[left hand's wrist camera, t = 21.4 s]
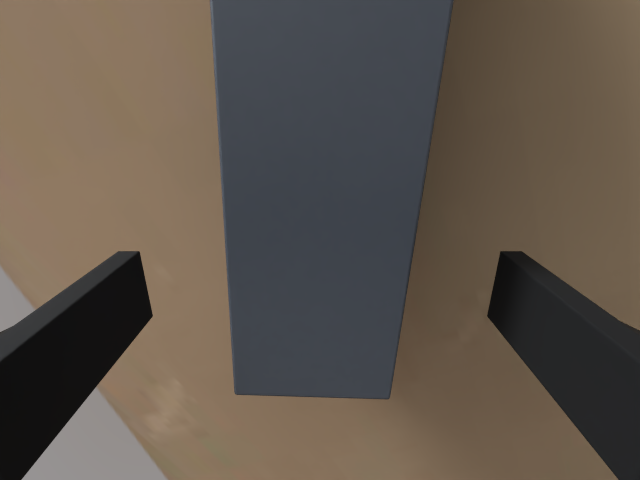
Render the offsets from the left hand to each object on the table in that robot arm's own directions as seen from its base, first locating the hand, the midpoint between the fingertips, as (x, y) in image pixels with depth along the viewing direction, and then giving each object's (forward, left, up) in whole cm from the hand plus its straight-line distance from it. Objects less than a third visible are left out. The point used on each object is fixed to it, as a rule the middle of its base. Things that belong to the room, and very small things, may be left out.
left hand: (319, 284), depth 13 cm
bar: (+8, -2, -6) cm, 10 cm away
